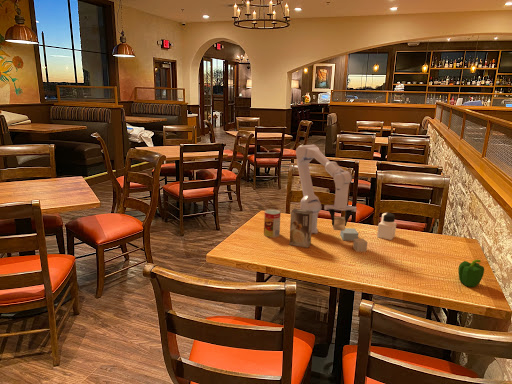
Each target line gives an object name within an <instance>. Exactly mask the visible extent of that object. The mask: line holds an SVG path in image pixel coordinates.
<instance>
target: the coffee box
mask: <svg viewBox="0 0 512 384" xmlns="http://www.w3.org/2000/svg"><path fill="white" fill-rule="evenodd" d="M289 222H290V226H289V230H290V231H289V245H290V246H296V247H300V248H309V247H310V246H311V244H312V233H311V230H312V211H308V210H301V208H300V209H299V208H293V209H292V210H291V212H290V221H289Z"/></svg>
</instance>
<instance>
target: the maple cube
mask: <svg viewBox="0 0 512 384" xmlns="http://www.w3.org/2000/svg"><path fill="white" fill-rule="evenodd" d="M345 228H346V226H345V216H334V225H332V229H333V231H340V232H341V231H345Z"/></svg>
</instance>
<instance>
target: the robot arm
mask: <svg viewBox="0 0 512 384" xmlns="http://www.w3.org/2000/svg"><path fill="white" fill-rule="evenodd" d="M295 155H296V165H297V170H298V175H299V180H300V184H301V189H302V195H303V197H302V198H301V200H300V209H301V210H308V211H312V230H311V234H318V233H319V231H318V217H319V213H320V212H321V210H322V204H321V201H320V199H319V197H318V196H317V195H316V194H315V191H314V187H313V182H312V181H313V180H312V177H311V172H310V167H309V164H310V162H311V161H312V160H313V159H315V161H316V162H318V163H320V164H321V165H322V166H323V167H324V170H325V172H326V173H328V174H329V175H330V176H331V177H332V178H333V182H334V185H335V186H334V187H335V194H334V204H324V208H323V209H324V211H327V210H328V212H329V215H330V219H331V225H332V226H333V225H334V217H335V215H336V212H335V211H339V212H340V211H341V212H342V211H343V212H344V218H345V227H347V223H348V221H349V219H350V218H351V216H352V214H353V212H354V213H356V212H357V206H352V205H348V198H349V197H348V196H349V186H350V184H351V182H352V180H353V176H352V173H351V172H350V171H348V170H344V168H342V167H341V166H340V165H339V164H338V162H336V161H330V160H329V159H328V157H326V156H325V154H323V153H322V151H321V150H320V147H318V146H317V145H316V144H305V145H304V144H303V145H301V144H300V145H298V146H297V148H296V150H295Z"/></svg>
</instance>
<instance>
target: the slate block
mask: <svg viewBox="0 0 512 384" xmlns="http://www.w3.org/2000/svg"><path fill="white" fill-rule="evenodd" d="M339 233H340V235H339V236H340V238H341V239H342V240H343V241H345V242H346V241H353V242H354V239H359V232H358V231H357V230H356V228H351V227H350V228H349V227H348V228H347V227H345V231H341V230H340V232H339Z"/></svg>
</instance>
